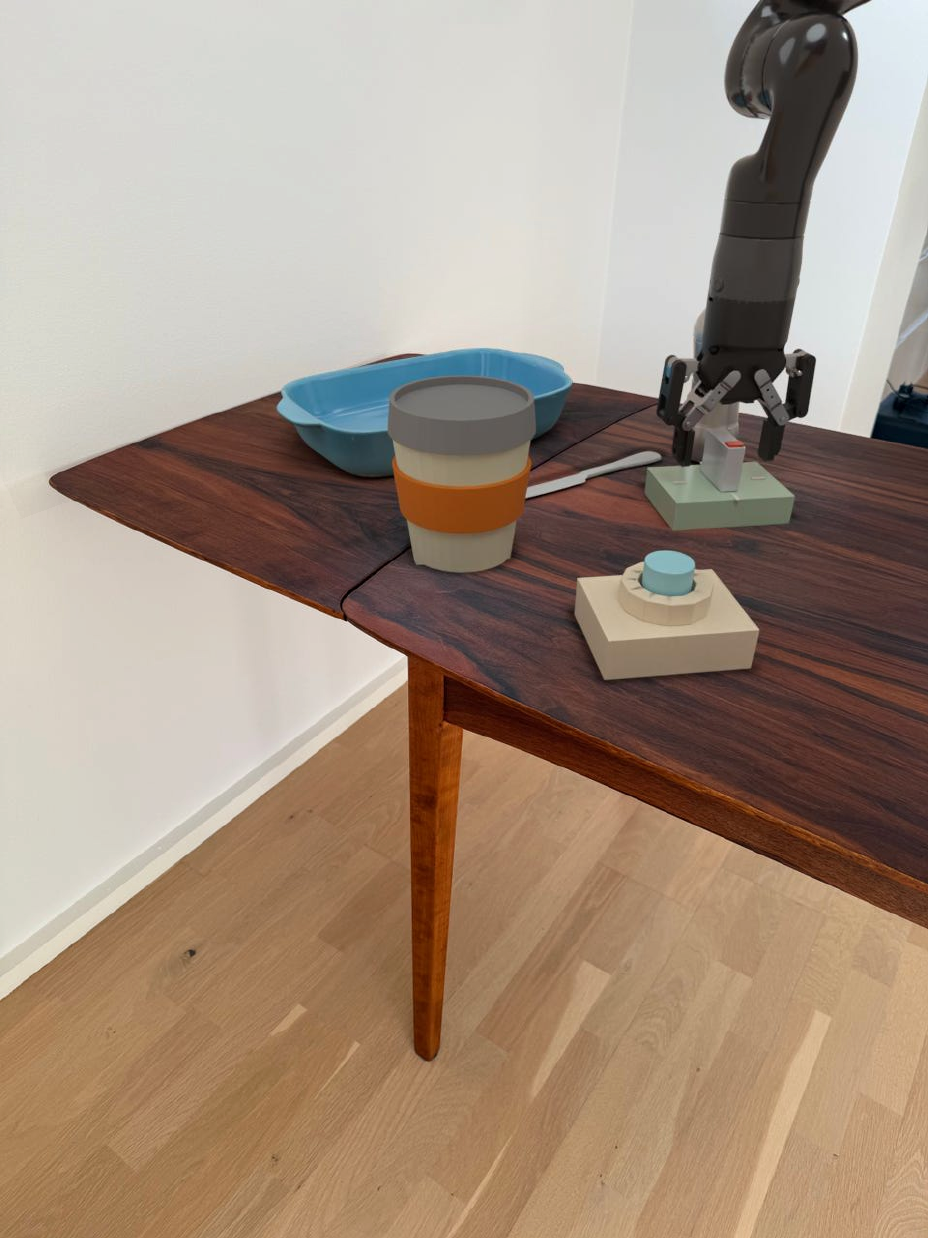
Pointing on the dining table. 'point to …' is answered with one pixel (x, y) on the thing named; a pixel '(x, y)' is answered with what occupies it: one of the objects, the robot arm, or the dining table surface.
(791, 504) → the panel
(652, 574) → the light blue puck
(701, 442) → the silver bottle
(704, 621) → the beige button housing
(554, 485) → the butter knife
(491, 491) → the reusable coffee cup
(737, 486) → the tap knob
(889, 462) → the dining table surface
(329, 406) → the casserole dish
